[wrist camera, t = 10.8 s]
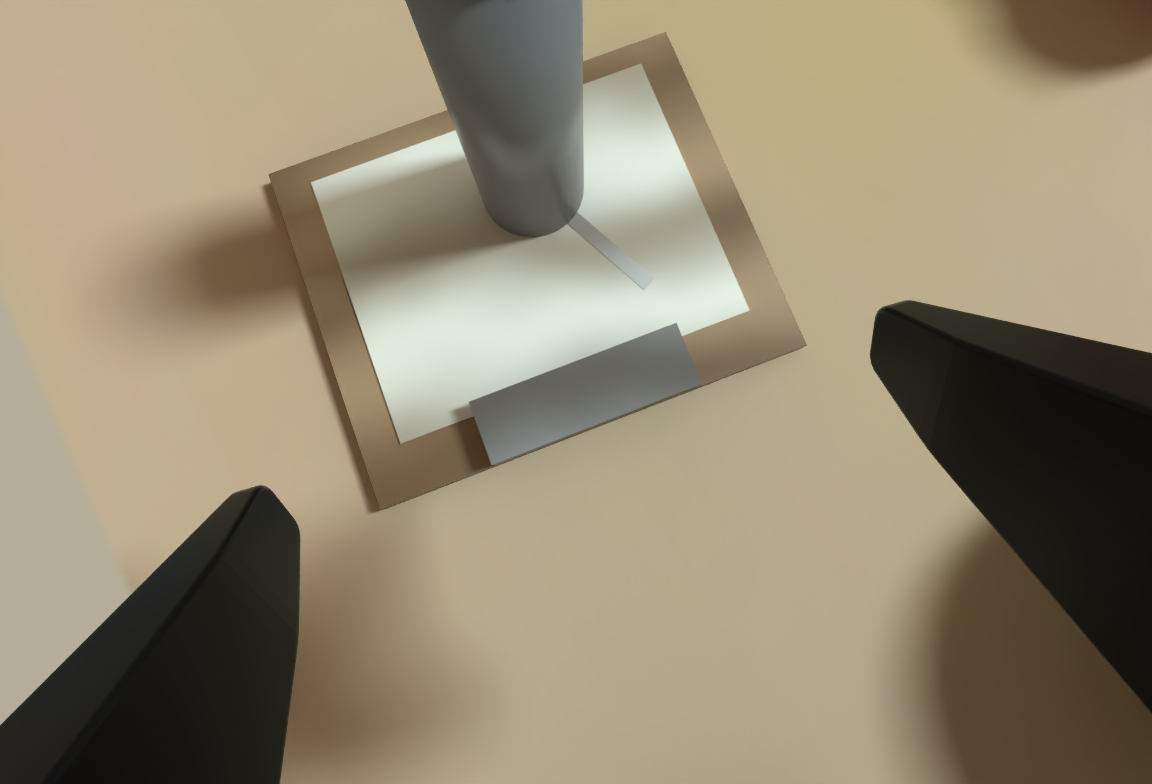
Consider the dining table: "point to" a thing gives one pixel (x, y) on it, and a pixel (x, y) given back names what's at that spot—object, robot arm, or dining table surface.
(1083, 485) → the robot arm
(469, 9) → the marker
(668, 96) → the clipboard
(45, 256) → the dining table surface
